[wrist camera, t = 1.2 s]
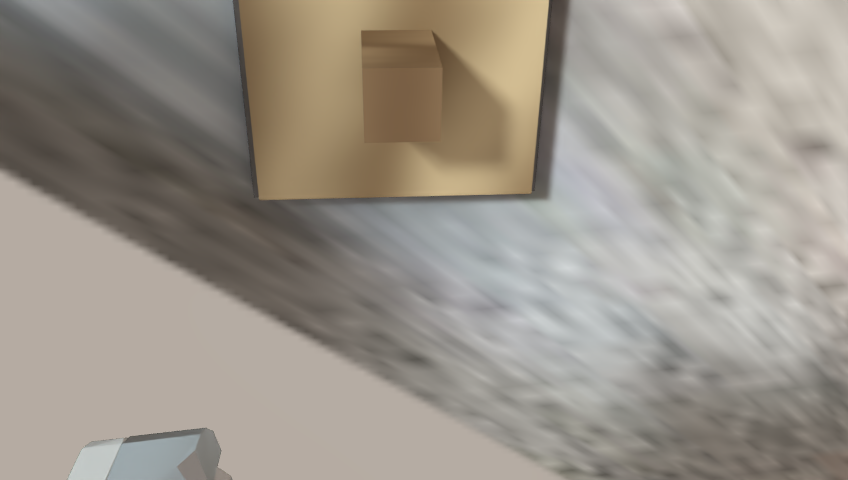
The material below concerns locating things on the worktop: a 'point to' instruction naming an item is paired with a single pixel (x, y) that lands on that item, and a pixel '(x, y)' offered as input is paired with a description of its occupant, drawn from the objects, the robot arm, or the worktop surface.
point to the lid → (393, 96)
